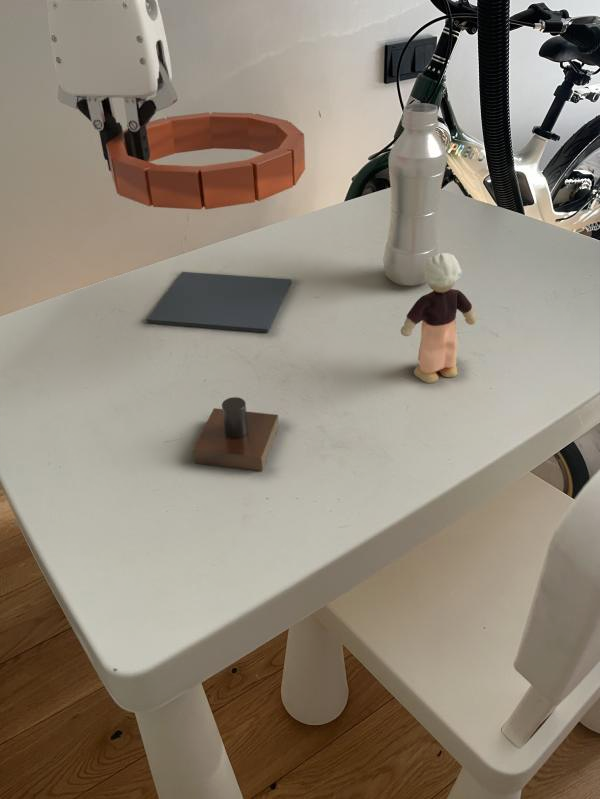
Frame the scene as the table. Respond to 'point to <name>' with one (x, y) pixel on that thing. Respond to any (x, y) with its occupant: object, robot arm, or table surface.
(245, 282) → the mat
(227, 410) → the post
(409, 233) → the plastic bottle
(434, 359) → the grandmother figurine
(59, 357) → the table surface
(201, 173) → the hoop
